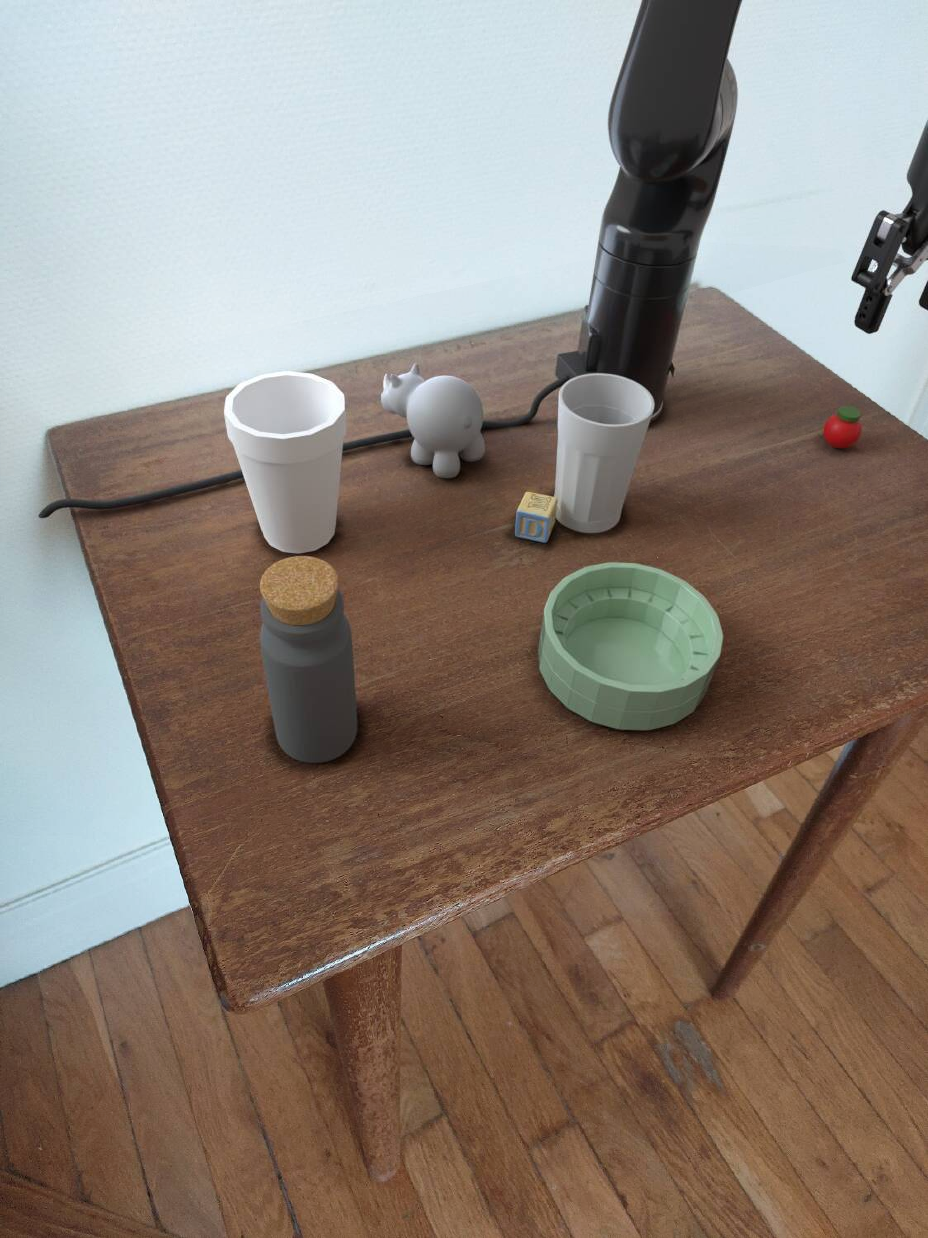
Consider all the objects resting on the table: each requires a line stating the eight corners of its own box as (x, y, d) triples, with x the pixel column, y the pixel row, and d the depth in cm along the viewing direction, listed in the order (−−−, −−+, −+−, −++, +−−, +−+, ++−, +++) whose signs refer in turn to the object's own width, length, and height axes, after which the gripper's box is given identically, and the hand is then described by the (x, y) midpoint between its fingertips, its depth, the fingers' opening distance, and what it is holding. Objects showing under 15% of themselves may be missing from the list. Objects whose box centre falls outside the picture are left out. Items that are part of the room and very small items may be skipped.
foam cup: (277, 486, 85) (261, 361, 75) (369, 510, 83) (363, 385, 73) (226, 549, 78) (201, 421, 69) (323, 577, 76) (311, 450, 67)
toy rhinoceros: (413, 408, 95) (413, 333, 88) (496, 460, 89) (502, 383, 83) (360, 434, 91) (356, 358, 85) (443, 490, 85) (445, 413, 79)
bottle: (278, 700, 67) (253, 549, 56) (357, 697, 68) (348, 547, 57) (273, 766, 63) (246, 617, 52) (358, 762, 64) (347, 615, 53)
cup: (640, 499, 86) (666, 388, 77) (613, 549, 81) (638, 436, 72) (561, 474, 88) (578, 364, 79) (530, 522, 83) (544, 409, 74)
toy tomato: (823, 454, 92) (837, 421, 89) (814, 434, 95) (827, 400, 92) (858, 456, 92) (873, 422, 89) (848, 435, 95) (862, 401, 92)
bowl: (543, 732, 66) (550, 689, 63) (533, 603, 75) (539, 559, 72) (721, 737, 67) (739, 694, 63) (690, 608, 76) (704, 564, 72)
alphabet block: (513, 536, 81) (516, 510, 79) (522, 515, 83) (525, 489, 81) (546, 544, 81) (550, 518, 78) (554, 523, 83) (558, 497, 81)
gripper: (995, 100, 76) (917, 285, 88) (877, 123, 71) (811, 317, 82) (1076, 130, 72) (982, 320, 83) (956, 156, 66) (874, 356, 78)
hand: (897, 318), depth 83 cm, fingers open, 8 cm apart
